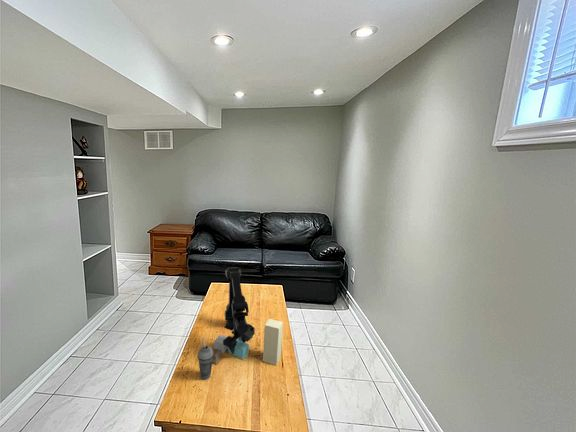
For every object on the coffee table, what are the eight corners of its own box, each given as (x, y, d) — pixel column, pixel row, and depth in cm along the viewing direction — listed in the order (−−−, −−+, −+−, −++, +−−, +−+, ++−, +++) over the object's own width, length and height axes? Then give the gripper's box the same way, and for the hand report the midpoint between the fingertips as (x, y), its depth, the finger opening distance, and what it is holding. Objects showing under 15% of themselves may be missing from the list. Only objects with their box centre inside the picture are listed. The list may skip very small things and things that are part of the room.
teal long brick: (228, 352, 145) (228, 342, 144) (234, 347, 149) (234, 337, 148) (242, 359, 141) (243, 349, 139) (248, 354, 145) (248, 344, 144)
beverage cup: (204, 384, 123) (204, 346, 120) (194, 377, 127) (193, 339, 123) (216, 375, 129) (216, 337, 126) (206, 368, 133) (206, 332, 129)
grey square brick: (213, 350, 146) (213, 341, 145) (219, 344, 152) (220, 334, 150) (223, 353, 144) (223, 343, 143) (229, 346, 150) (229, 337, 149)
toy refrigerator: (281, 356, 144) (283, 321, 140) (276, 365, 137) (278, 328, 134) (268, 352, 147) (269, 317, 143) (262, 361, 140) (264, 325, 136)
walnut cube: (207, 363, 137) (207, 354, 136) (212, 356, 142) (212, 348, 141) (216, 365, 136) (216, 356, 135) (220, 358, 140) (220, 350, 140)
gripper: (240, 337, 130) (239, 365, 133) (261, 319, 146) (260, 344, 149) (222, 329, 135) (222, 356, 138) (245, 312, 151) (244, 337, 154)
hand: (238, 348), depth 145 cm, fingers open, 9 cm apart
